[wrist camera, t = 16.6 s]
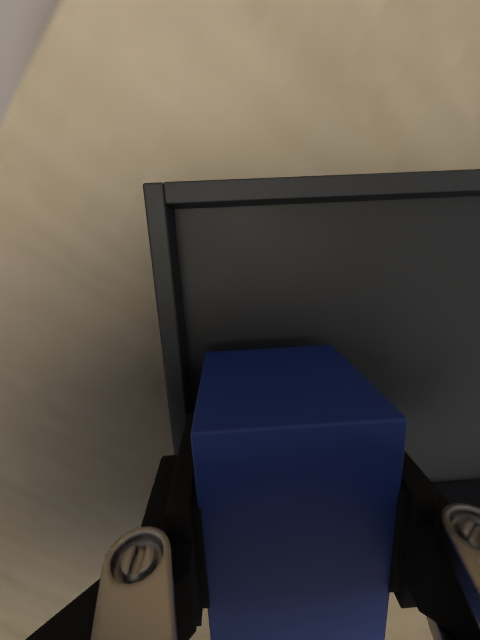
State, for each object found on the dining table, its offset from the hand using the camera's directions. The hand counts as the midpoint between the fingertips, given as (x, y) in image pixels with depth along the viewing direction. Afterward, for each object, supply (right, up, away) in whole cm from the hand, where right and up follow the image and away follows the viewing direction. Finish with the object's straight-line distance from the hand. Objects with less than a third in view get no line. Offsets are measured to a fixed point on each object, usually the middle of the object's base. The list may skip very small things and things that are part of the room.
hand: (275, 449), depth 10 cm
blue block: (0, 0, +1) cm, 1 cm away
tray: (+4, +3, +2) cm, 6 cm away
